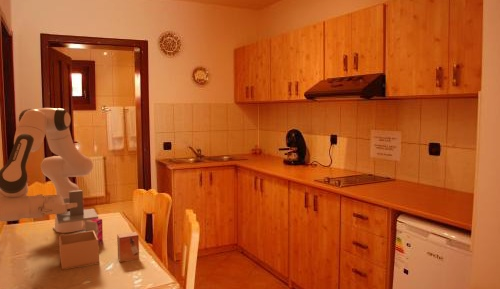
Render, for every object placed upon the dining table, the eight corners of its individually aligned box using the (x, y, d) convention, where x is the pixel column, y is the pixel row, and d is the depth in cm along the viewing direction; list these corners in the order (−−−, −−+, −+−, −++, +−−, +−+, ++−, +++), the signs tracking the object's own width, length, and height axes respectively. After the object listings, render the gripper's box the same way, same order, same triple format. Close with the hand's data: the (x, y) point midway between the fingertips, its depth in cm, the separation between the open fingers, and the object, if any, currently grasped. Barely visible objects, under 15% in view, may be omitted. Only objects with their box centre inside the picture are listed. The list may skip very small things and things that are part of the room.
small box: (120, 262, 166) (118, 237, 165) (117, 258, 171) (116, 234, 170) (139, 259, 170) (138, 234, 169) (136, 254, 175) (135, 231, 174)
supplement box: (96, 246, 186) (95, 221, 185) (85, 245, 188) (83, 221, 187) (103, 241, 192) (102, 218, 191) (92, 241, 193) (91, 217, 192)
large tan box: (60, 258, 172) (58, 235, 171) (94, 252, 178) (93, 230, 177) (62, 269, 159) (60, 245, 158) (99, 263, 166) (98, 239, 165)
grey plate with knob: (56, 214, 170) (55, 189, 169) (93, 210, 177) (92, 186, 176) (58, 223, 157) (56, 196, 156) (98, 218, 164) (97, 192, 163)
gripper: (38, 203, 150) (78, 199, 157) (37, 193, 168) (73, 190, 175) (39, 220, 151) (79, 215, 157) (38, 208, 169) (74, 204, 175)
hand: (76, 202), depth 166 cm, fingers open, 8 cm apart
